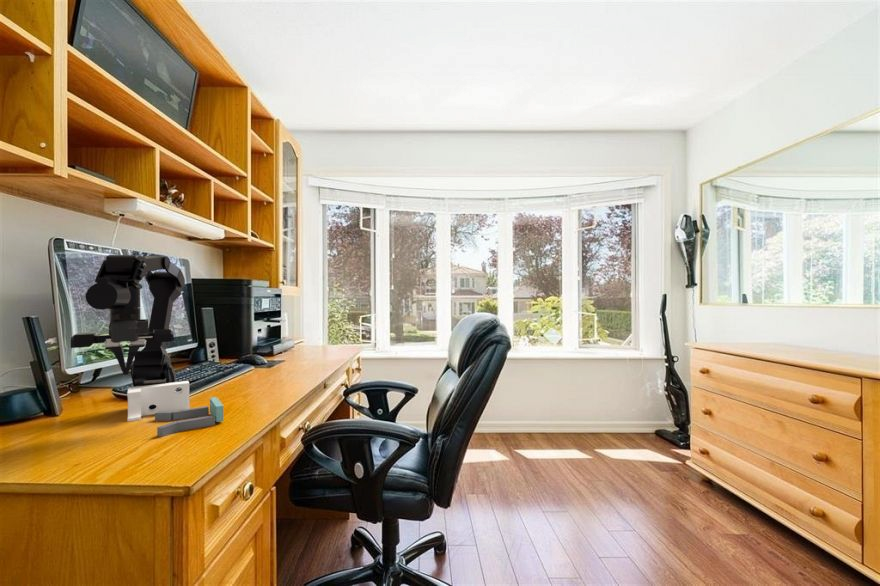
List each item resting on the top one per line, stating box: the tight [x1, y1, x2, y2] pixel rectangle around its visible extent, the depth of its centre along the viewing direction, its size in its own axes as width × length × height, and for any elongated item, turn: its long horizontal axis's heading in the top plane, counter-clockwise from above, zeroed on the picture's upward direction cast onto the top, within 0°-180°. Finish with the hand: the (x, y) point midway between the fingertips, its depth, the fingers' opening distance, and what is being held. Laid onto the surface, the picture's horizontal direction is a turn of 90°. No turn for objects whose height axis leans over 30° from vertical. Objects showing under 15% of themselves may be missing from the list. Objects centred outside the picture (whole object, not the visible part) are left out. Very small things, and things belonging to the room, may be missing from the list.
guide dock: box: [154, 405, 216, 438], centre depth 96 cm, size 16×11×2 cm
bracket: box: [126, 380, 191, 422], centre depth 104 cm, size 13×7×8 cm
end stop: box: [209, 396, 224, 423], centre depth 100 cm, size 10×2×4 cm, turn 37°
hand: (125, 374), depth 95 cm, fingers closed
